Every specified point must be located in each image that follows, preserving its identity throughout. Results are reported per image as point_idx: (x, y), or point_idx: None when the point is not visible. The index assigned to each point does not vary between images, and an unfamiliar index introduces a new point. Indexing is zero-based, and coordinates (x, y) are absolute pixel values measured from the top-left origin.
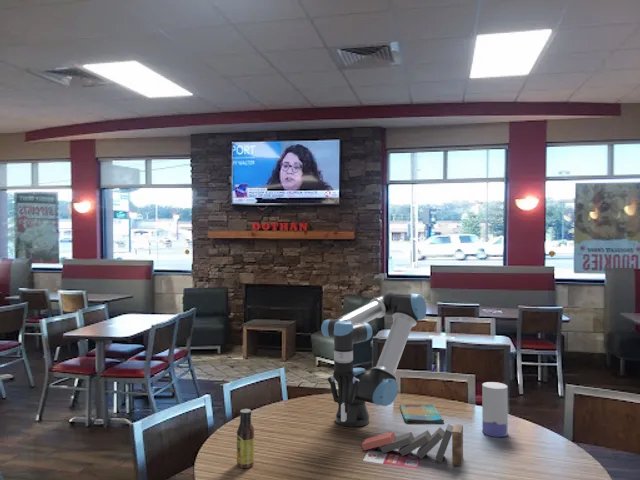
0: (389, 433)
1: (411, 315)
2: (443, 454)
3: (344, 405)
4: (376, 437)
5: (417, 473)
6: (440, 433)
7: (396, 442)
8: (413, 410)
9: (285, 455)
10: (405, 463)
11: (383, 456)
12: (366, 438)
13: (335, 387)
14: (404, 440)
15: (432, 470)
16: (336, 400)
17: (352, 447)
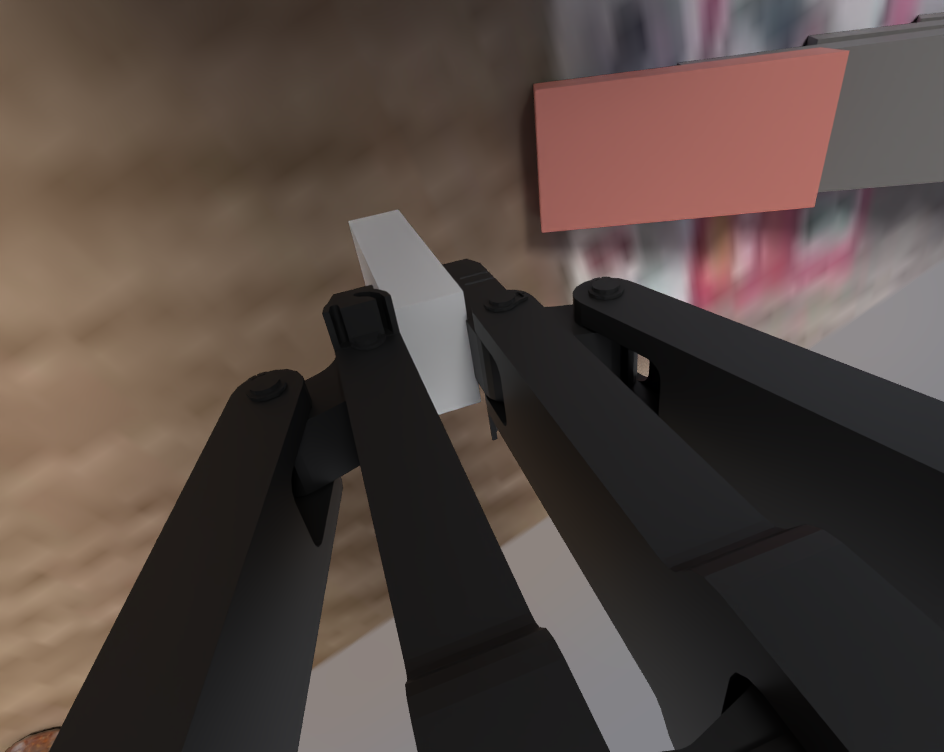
0: (803, 101)
1: None
2: None
3: (479, 400)
4: (663, 134)
5: (845, 315)
6: None
7: (827, 190)
8: None
9: (127, 577)
10: (799, 247)
11: (679, 231)
12: (541, 92)
13: (234, 705)
14: (899, 181)
15: (914, 244)
16: (336, 490)
17: (444, 215)
